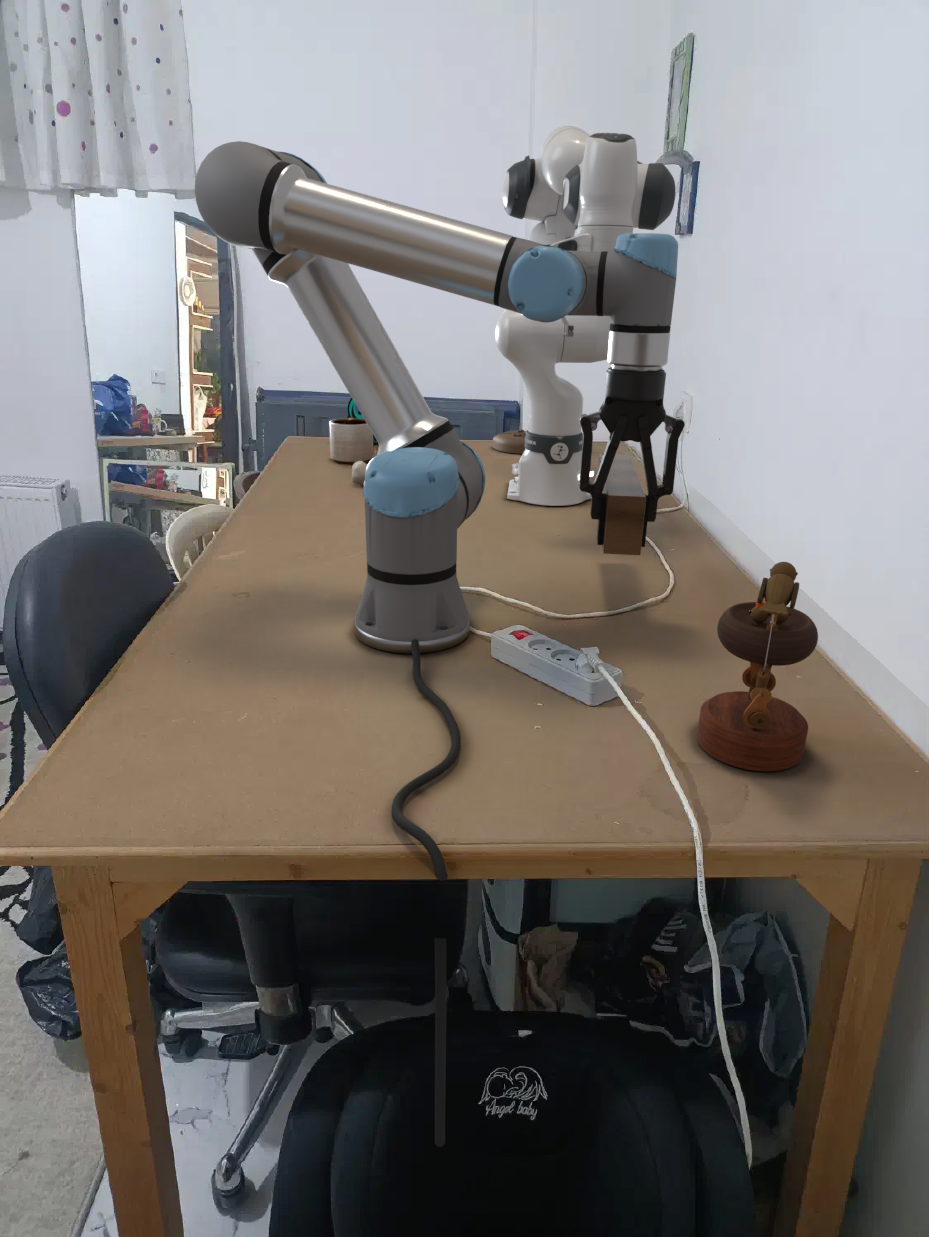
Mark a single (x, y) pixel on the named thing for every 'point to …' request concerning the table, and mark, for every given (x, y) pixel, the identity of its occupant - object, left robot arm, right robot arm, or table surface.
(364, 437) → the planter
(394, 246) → the left robot arm
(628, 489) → the bar
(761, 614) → the wooden figurine sculpture
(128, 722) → the table surface
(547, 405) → the right robot arm
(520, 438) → the brown rounded slab
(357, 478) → the dog toy
